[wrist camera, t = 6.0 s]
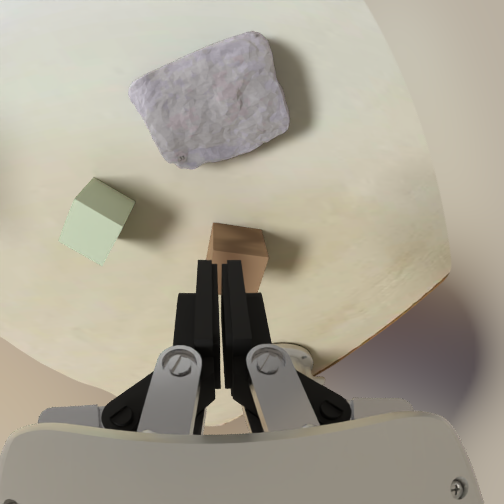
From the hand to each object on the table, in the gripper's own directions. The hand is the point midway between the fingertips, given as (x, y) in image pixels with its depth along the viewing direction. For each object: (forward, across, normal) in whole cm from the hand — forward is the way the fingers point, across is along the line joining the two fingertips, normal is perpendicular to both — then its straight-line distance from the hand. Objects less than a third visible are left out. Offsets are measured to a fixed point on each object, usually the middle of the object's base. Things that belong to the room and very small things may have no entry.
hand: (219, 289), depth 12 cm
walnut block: (+18, -2, +9) cm, 20 cm away
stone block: (+18, 0, -5) cm, 19 cm away
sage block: (+18, +11, +5) cm, 22 cm away
